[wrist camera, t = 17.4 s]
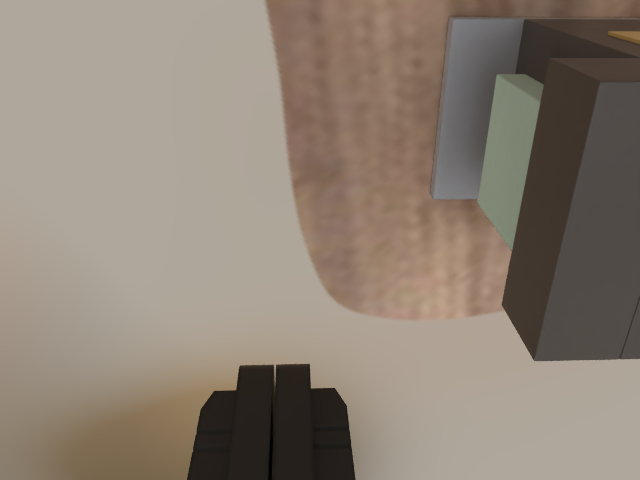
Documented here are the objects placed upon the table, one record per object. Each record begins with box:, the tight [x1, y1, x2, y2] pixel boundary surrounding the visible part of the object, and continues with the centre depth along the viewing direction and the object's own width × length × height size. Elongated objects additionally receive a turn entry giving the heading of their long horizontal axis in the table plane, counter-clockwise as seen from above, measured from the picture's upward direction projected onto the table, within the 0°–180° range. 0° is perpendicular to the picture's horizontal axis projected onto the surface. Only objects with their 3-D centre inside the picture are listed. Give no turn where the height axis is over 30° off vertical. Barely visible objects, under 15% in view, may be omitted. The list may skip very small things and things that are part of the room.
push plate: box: [478, 74, 544, 251], centre depth 27 cm, size 2×7×6 cm, turn 0°
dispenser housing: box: [430, 17, 640, 361], centre depth 28 cm, size 12×11×17 cm
